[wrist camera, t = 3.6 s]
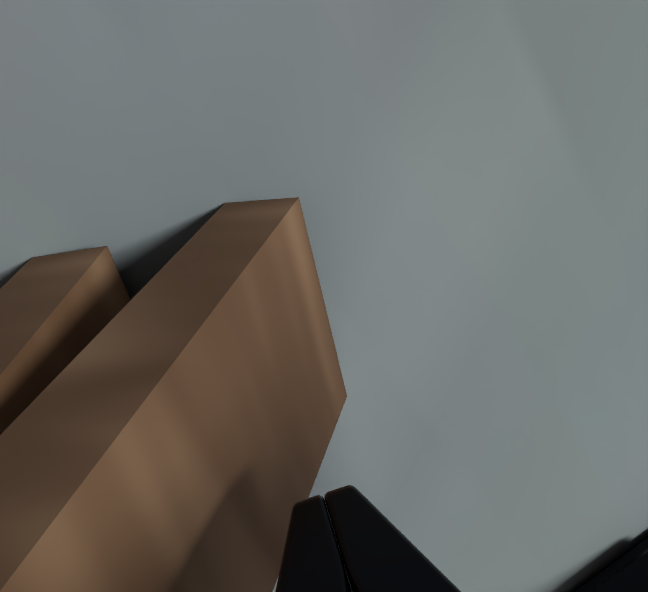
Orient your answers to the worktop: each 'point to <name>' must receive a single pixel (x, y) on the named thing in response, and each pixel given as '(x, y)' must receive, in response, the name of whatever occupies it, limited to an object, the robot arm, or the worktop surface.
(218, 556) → the brown rectangular block
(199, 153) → the worktop surface
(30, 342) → the domino
